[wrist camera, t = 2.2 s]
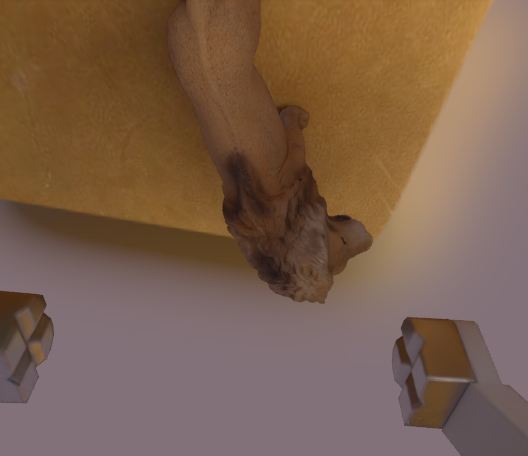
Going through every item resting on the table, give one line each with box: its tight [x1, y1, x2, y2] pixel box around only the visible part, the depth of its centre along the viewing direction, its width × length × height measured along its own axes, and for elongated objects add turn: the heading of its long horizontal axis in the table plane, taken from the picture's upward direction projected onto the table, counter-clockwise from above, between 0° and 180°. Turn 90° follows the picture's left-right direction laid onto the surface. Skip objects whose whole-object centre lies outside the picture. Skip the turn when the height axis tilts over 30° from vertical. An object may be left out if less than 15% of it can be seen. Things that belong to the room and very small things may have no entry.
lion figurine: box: [167, 0, 373, 304], centre depth 18 cm, size 15×5×9 cm, turn 27°
